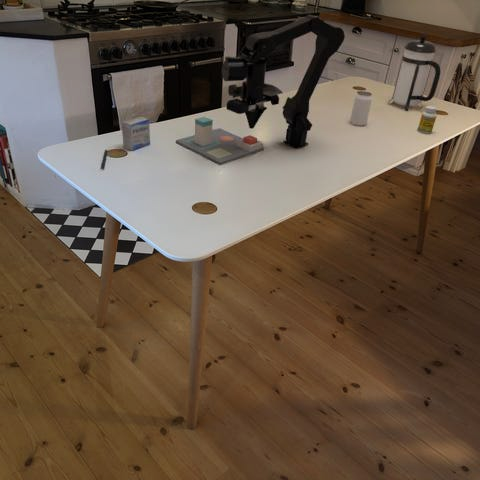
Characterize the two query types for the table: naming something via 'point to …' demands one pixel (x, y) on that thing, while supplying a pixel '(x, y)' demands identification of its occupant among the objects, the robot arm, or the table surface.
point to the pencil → (104, 159)
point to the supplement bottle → (427, 120)
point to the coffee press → (415, 74)
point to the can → (361, 108)
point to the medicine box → (136, 133)
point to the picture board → (222, 147)
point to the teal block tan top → (203, 131)
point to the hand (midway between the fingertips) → (251, 128)
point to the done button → (250, 139)
